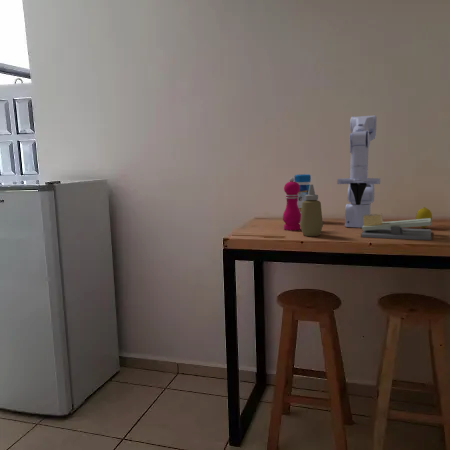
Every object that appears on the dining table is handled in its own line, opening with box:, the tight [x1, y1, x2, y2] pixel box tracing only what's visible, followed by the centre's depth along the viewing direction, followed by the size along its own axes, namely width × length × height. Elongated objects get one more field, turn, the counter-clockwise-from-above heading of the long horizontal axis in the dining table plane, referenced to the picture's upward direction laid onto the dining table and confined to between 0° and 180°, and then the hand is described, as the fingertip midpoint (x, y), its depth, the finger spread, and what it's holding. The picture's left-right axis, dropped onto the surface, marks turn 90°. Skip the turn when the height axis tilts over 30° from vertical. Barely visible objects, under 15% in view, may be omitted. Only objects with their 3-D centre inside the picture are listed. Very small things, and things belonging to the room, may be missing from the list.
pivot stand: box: [360, 226, 432, 241], centre depth 160 cm, size 22×16×4 cm
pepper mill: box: [282, 177, 301, 231], centre depth 176 cm, size 7×7×20 cm
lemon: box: [415, 206, 433, 229], centre depth 170 cm, size 6×6×8 cm
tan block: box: [363, 212, 384, 226], centre depth 162 cm, size 6×5×4 cm
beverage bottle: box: [293, 173, 312, 224], centre depth 195 cm, size 8×8×20 cm
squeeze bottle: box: [299, 184, 324, 237], centre depth 162 cm, size 8×8×18 cm
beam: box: [361, 218, 432, 232], centre depth 159 cm, size 22×9×2 cm, turn 67°
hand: (358, 204), depth 163 cm, fingers closed
